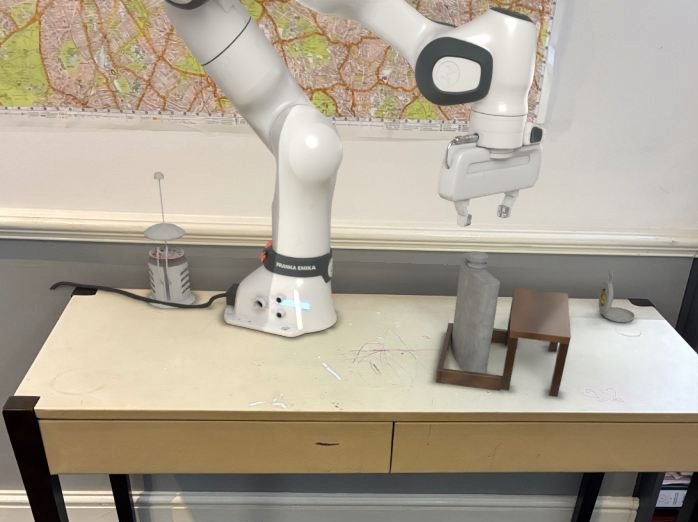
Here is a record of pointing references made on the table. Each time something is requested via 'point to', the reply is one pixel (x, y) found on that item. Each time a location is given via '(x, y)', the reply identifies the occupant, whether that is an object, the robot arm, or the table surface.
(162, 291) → the french press
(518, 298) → the shelf stand
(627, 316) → the pocket watch
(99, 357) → the table surface
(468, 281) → the hip flask
